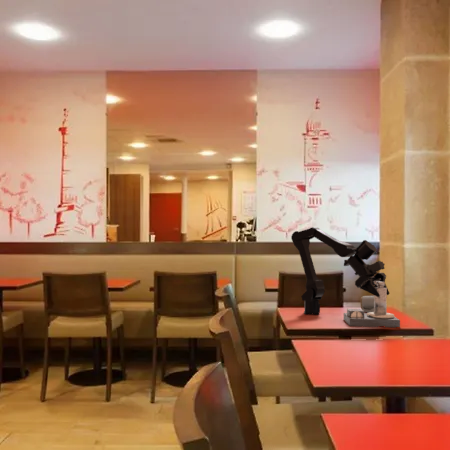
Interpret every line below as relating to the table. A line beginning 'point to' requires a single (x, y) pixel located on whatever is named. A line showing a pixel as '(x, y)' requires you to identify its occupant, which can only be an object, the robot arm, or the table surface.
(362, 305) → the ceramic mug
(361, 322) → the bench scale
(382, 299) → the steel weight
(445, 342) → the table surface
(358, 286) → the robot arm
